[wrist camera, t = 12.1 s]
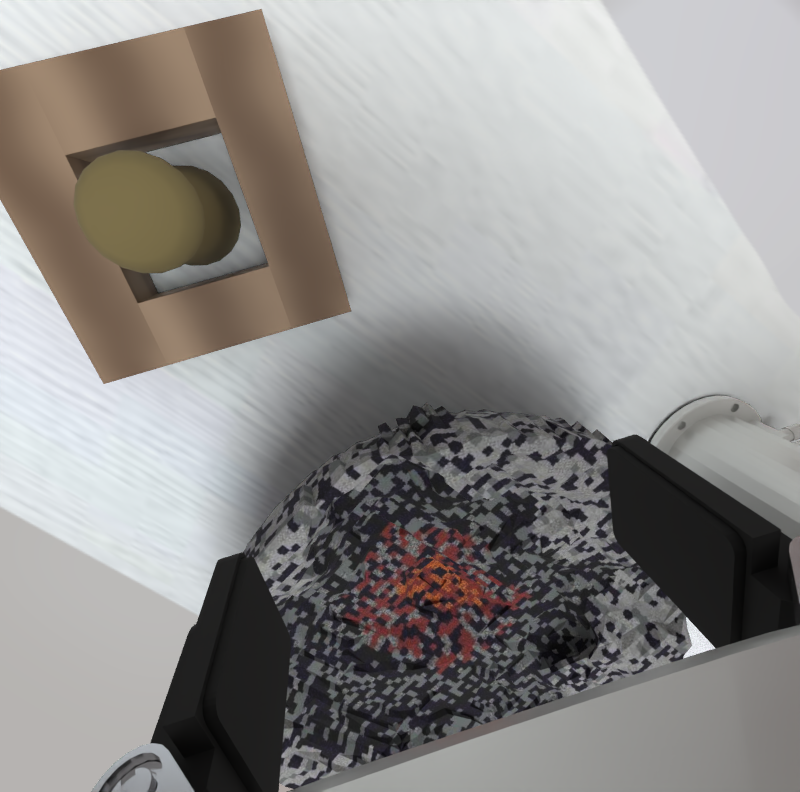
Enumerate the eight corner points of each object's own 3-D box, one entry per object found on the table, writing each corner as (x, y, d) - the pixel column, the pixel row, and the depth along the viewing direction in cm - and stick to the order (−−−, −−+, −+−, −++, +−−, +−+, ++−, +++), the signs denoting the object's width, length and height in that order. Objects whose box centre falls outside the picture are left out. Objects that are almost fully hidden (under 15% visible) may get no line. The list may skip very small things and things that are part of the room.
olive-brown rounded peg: (127, 239, 29) (29, 247, 19) (157, 145, 27) (69, 99, 17) (221, 281, 31) (179, 309, 21) (254, 195, 29) (226, 181, 19)
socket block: (267, 38, 26) (261, 9, 23) (346, 301, 33) (351, 311, 29) (-10, 105, 25) (-64, 85, 22) (127, 365, 32) (103, 383, 28)
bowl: (165, 556, 37) (82, 750, 24) (421, 270, 33) (502, 304, 19) (424, 687, 49) (470, 867, 36) (639, 489, 45) (785, 607, 31)
